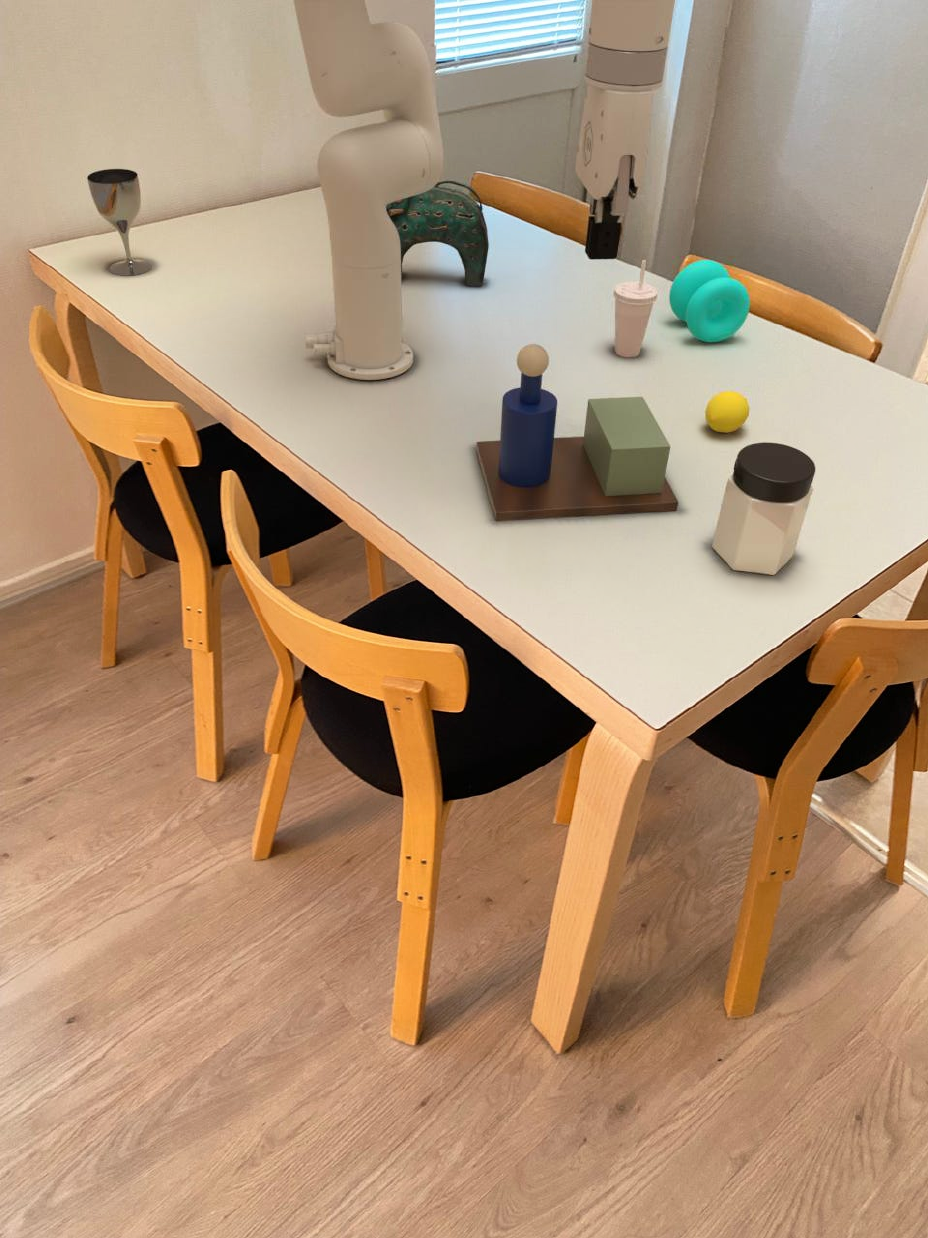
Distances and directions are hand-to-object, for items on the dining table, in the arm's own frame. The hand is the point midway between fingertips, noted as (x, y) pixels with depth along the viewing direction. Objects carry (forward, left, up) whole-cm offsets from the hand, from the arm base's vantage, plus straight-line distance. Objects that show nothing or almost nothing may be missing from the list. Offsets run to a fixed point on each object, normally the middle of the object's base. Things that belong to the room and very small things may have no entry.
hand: (600, 255), depth 105 cm
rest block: (+5, -2, -26) cm, 26 cm away
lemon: (+22, +8, -27) cm, 36 cm away
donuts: (+29, +38, -27) cm, 55 cm away
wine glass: (-63, +71, -27) cm, 99 cm away
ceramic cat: (-12, +62, -27) cm, 69 cm away
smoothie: (+15, +32, -27) cm, 44 cm away
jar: (+16, -19, -27) cm, 37 cm away
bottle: (-2, -2, -24) cm, 25 cm away
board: (-1, -2, -27) cm, 27 cm away
